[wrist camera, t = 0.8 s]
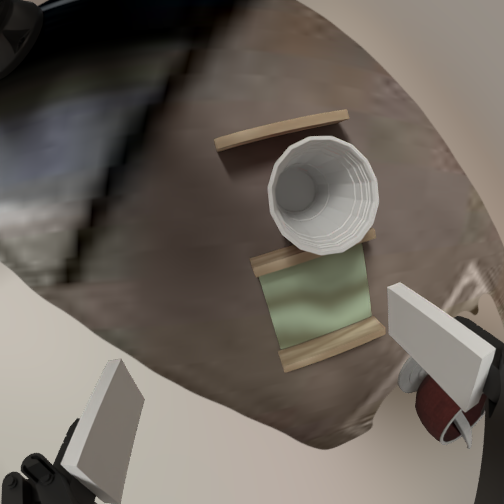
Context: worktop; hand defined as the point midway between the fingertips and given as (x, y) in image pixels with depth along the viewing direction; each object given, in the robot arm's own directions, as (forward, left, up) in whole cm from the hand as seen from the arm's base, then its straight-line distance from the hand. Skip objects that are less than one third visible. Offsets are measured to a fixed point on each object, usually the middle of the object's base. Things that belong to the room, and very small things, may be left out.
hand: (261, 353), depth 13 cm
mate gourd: (+37, +28, -25) cm, 53 cm away
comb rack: (+4, +9, -25) cm, 27 cm away
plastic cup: (-4, +9, -25) cm, 27 cm away
